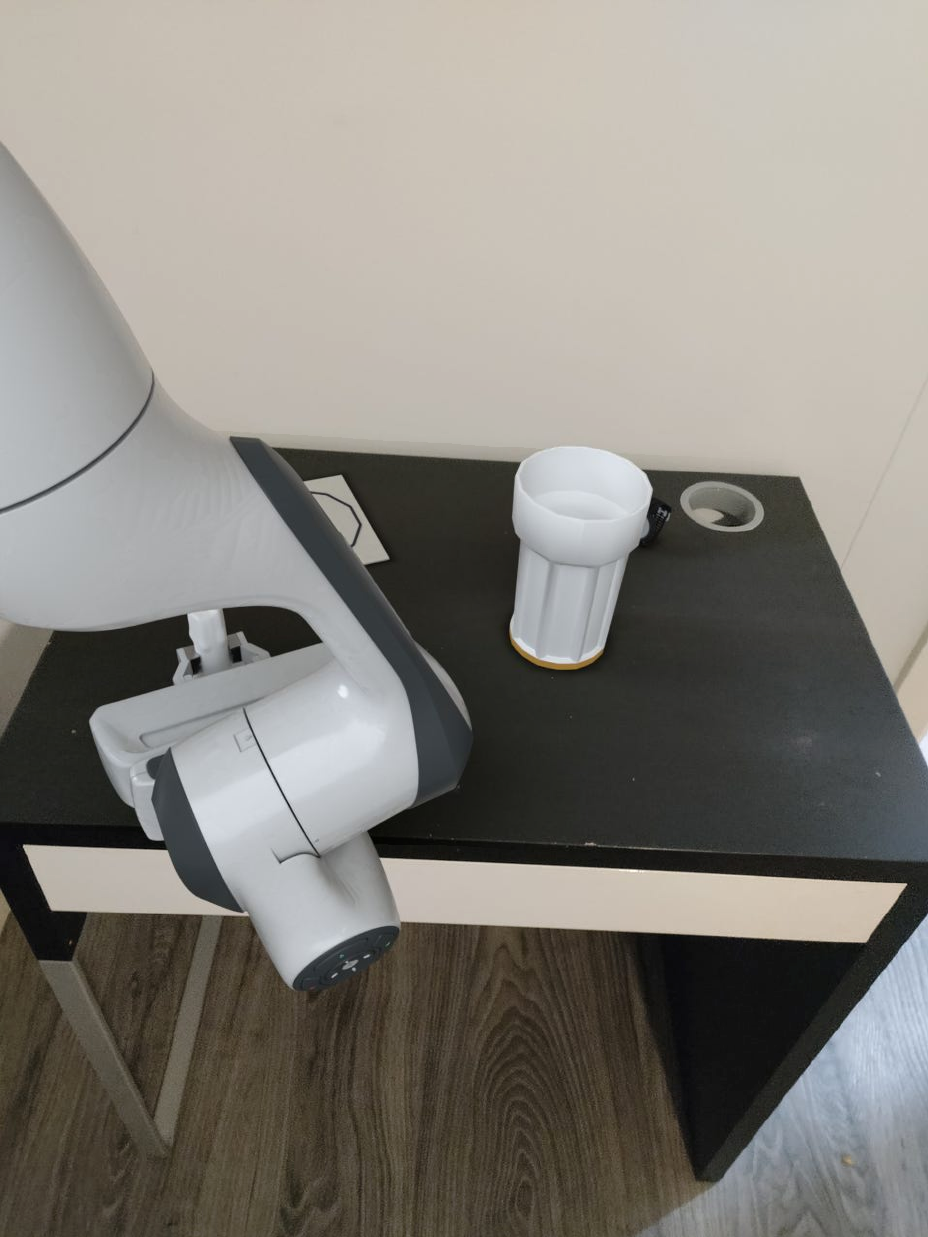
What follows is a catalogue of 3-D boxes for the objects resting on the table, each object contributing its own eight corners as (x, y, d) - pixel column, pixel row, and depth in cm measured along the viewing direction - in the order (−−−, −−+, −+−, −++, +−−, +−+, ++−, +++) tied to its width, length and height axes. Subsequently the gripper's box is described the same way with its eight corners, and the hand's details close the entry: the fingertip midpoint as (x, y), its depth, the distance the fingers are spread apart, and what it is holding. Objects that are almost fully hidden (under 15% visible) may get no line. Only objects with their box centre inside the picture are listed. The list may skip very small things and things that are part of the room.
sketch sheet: (190, 602, 88) (189, 599, 88) (160, 508, 99) (160, 506, 98) (389, 559, 95) (389, 557, 94) (341, 476, 105) (341, 473, 105)
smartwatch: (616, 534, 100) (624, 496, 97) (658, 526, 102) (667, 488, 98) (634, 557, 97) (643, 518, 94) (677, 549, 99) (687, 510, 95)
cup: (615, 603, 92) (649, 451, 80) (619, 685, 83) (658, 529, 72) (500, 591, 92) (518, 438, 80) (493, 672, 83) (511, 514, 72)
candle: (266, 700, 79) (254, 592, 71) (230, 743, 75) (212, 634, 67) (213, 679, 80) (195, 571, 72) (175, 720, 77) (151, 611, 69)
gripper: (401, 696, 67) (331, 583, 76) (107, 791, 59) (68, 652, 68) (400, 753, 71) (333, 639, 80) (125, 848, 63) (86, 710, 72)
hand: (209, 646), depth 74 cm, fingers closed on candle, 2 cm apart
